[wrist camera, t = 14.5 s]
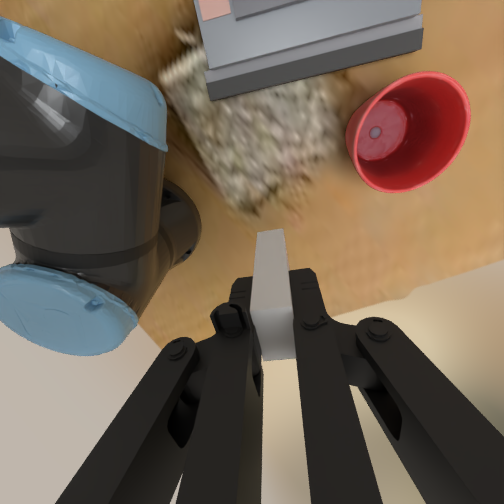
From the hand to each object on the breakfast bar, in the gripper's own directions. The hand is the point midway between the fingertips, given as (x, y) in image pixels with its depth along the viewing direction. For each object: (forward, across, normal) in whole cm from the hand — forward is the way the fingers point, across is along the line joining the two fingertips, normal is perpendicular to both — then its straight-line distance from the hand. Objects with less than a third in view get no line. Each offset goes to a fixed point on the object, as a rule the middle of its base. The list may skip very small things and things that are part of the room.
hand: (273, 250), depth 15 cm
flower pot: (+25, +14, +2) cm, 28 cm away
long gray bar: (+24, +6, +10) cm, 27 cm away
